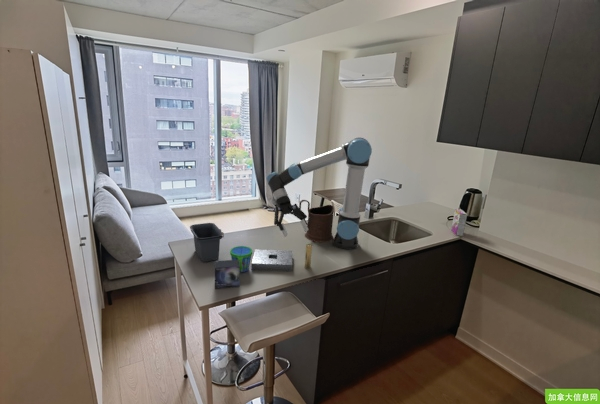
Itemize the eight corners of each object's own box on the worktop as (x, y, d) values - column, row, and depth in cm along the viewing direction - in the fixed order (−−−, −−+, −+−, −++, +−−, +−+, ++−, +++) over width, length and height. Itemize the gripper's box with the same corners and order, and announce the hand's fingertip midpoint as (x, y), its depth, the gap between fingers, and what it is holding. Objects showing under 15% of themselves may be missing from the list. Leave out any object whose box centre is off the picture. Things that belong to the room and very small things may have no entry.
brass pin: (310, 265, 157) (311, 244, 154) (310, 268, 154) (312, 246, 151) (304, 265, 157) (306, 244, 153) (304, 268, 154) (306, 246, 151)
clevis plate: (291, 256, 166) (292, 250, 165) (291, 271, 150) (292, 264, 149) (255, 255, 165) (255, 249, 164) (251, 269, 149) (251, 263, 148)
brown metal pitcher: (338, 240, 191) (342, 202, 184) (303, 244, 182) (305, 204, 175) (325, 230, 208) (328, 194, 201) (292, 233, 199) (294, 196, 192)
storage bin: (189, 249, 167) (188, 224, 163) (217, 244, 175) (216, 221, 171) (198, 266, 150) (197, 239, 146) (228, 260, 158) (228, 234, 154)
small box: (214, 289, 131) (214, 267, 128) (214, 281, 137) (214, 260, 134) (239, 287, 134) (239, 265, 131) (238, 279, 140) (238, 259, 137)
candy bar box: (450, 230, 222) (455, 208, 218) (457, 231, 222) (462, 209, 217) (455, 235, 212) (460, 213, 207) (463, 236, 211) (468, 214, 207)
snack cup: (249, 278, 142) (249, 258, 139) (226, 276, 142) (226, 257, 139) (254, 262, 157) (254, 244, 154) (233, 261, 157) (233, 243, 154)
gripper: (296, 199, 176) (311, 231, 169) (259, 204, 161) (273, 240, 154) (303, 192, 171) (318, 226, 164) (264, 197, 156) (280, 234, 149)
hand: (296, 233), depth 159 cm, fingers open, 13 cm apart
